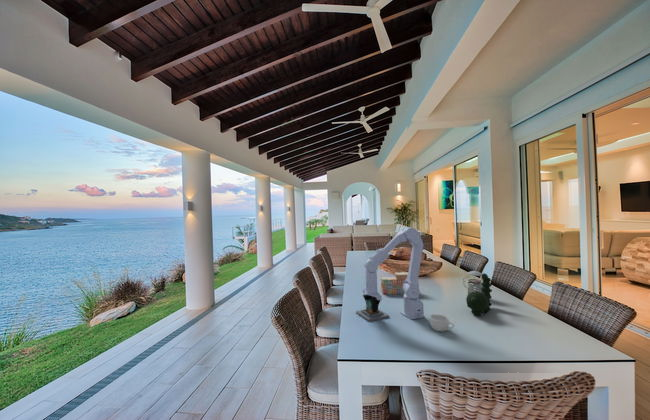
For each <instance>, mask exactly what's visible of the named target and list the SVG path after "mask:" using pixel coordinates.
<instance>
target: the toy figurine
mask: <svg viewBox="0 0 650 420" xmlns="http://www.w3.org/2000/svg"><path fill="white" fill-rule="evenodd" d="M481 279H482V280H481V281H482V282H481V283H482V288H481V291H482V292H478V291H474V292H471V293H469V294H468V293H467V294H468V296H466V299H465V301H466V306H467V308H469V309H471V310H470V311H471V314H472V315H474V316H479V317H480V316H481V315H482V312H484V313H489V311H491V307H492V305H493V304H492V303H491V299H492V295H491V293H492V292H493V289H491V288H490V287H492V283H491V280H492V279H491V278H489V276H488V274H487V273H482V276H481Z"/></svg>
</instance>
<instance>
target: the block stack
mask: <svg viewBox="0 0 650 420" xmlns="http://www.w3.org/2000/svg"><path fill="white" fill-rule="evenodd" d="M365 309H366V312H367V313H369V314H370V315H371V314H375V313H378V309H379V308H378V309H377V312H373V311H372V304H371V301H370V299H369V300H366V301H365Z"/></svg>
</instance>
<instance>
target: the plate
mask: <svg viewBox="0 0 650 420" xmlns="http://www.w3.org/2000/svg"><path fill="white" fill-rule="evenodd" d="M355 313H356V315H358V316H359V317H361V318H362V319H364V320H365V321H366V322H373V321H379V320H383V319H387V318H390V314H388V313H386V312H384V311H383V310H381V309H379V308H378V313H375V314H371V315H370V314H369V313H367V312H366V308H365V309H361V310H356V312H355Z"/></svg>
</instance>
